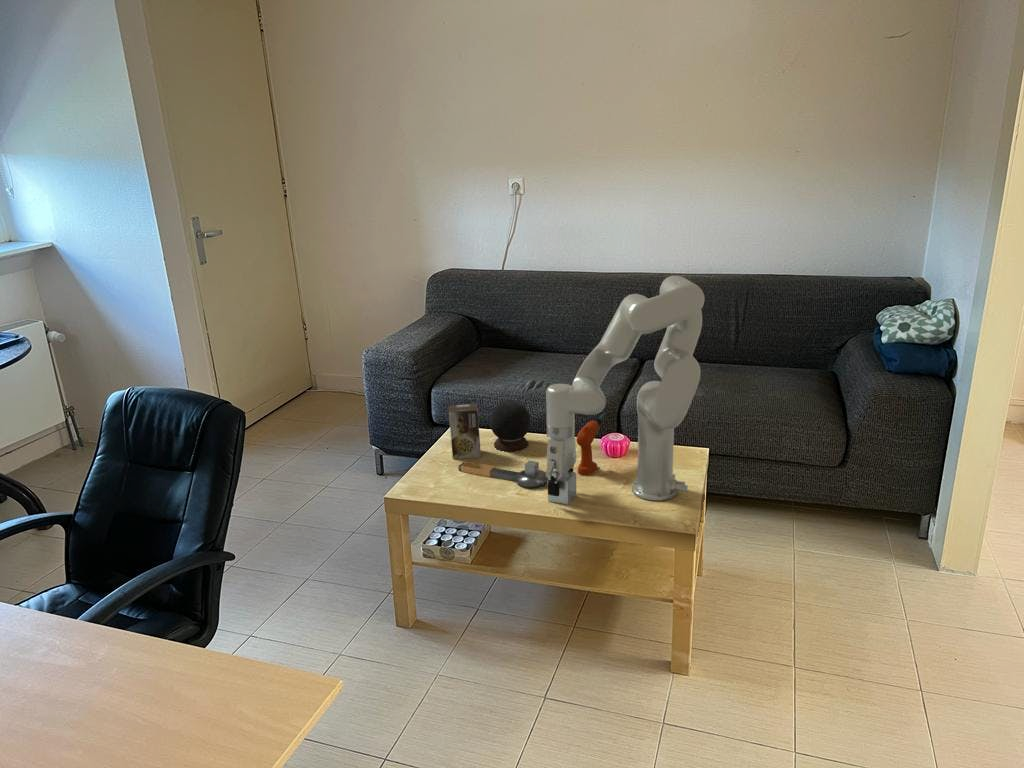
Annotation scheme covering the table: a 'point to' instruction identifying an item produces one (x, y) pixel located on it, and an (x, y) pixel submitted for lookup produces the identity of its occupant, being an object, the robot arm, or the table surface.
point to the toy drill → (588, 446)
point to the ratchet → (510, 473)
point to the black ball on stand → (510, 426)
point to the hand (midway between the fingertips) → (560, 487)
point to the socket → (565, 488)
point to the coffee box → (464, 431)
